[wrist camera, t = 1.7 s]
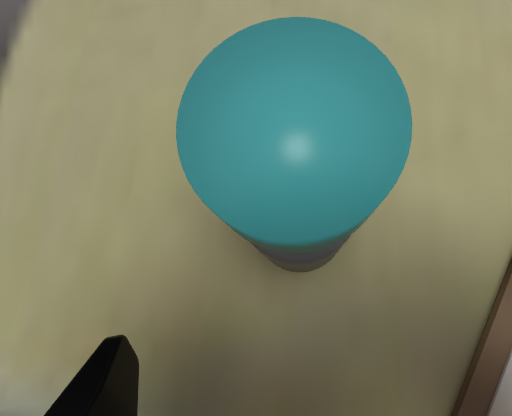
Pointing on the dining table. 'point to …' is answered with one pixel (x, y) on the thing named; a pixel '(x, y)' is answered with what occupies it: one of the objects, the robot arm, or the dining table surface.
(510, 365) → the clipboard
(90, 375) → the robot arm
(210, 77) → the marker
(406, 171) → the dining table surface
